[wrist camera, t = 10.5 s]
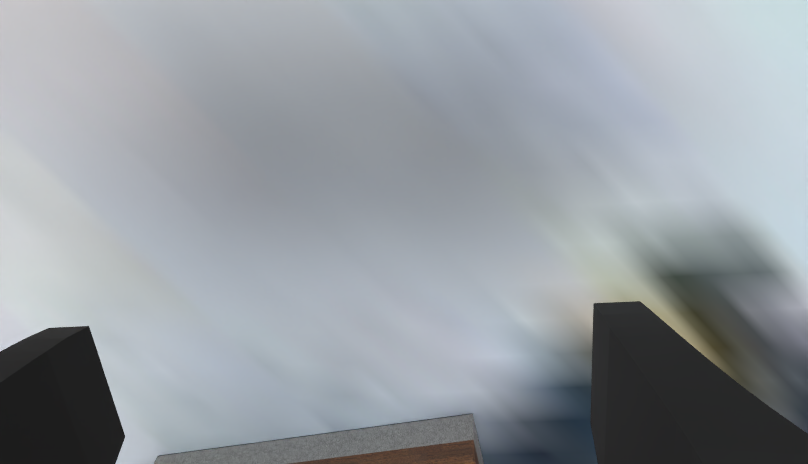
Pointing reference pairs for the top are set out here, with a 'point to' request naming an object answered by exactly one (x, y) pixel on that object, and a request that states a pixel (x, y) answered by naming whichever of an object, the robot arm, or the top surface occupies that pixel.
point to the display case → (356, 446)
